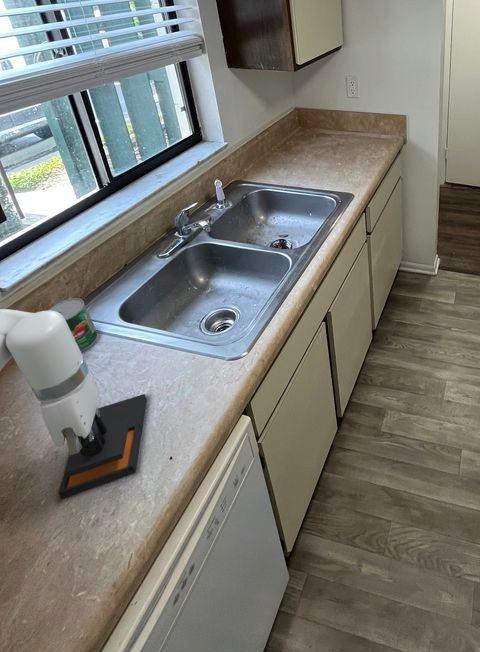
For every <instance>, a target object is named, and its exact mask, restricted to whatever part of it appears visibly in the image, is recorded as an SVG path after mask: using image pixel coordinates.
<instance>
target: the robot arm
mask: <svg viewBox="0 0 480 652" xmlns="http://www.w3.org/2000/svg"><path fill="white" fill-rule="evenodd" d="M82 353H83V352H81V351H80V349H79V347H78V345H77V343H76V341H75V339H74V337H73V335H72V333H71V331H70V328H69V326H68V324H67V322H66V320H65V319H64V317H63V315H61V314H60V313H59V312H56V311H51V310H49V309H48V310H42V311H36V312H28V311H22V310H16V309H8V308H0V372H1V371H2V370H3V369H4V367H5V366H6V365H7V364H8V363H9V361H10V360H11V359H12V358H13V360H14V361H15V363H16V365H17V367H18V368H19V370H20V372H21V374H22V375H23V377H24V380H25V381H26V382H27V384H28V385H29V387H30V389H31V390H32V392H33V394H34V396H35V398H36V400H37V401H39V402H40V404H39V406H40V411H41V415H42V419H43V421H44V424H45V427H46V429H47V431H48V433H49V435H50V437H51V440H52V442H53V443H54V445H55V446H56V447H57V448H60V447H63V446H64V445H65V442H66V445H67V452H68V456H69V455H73V454H76V453H79V452H81V454H82V456H87V455H91V454H93V453H96V452H99V451H101V450H103V445H102V443H101V441H100V439H99V437H98V435H97V434H94V433H93V431H92V429H91V427H92V423H93V420H95V422H96V424H97V425H98V427H99V429H100V431H101V433H102V435H104V434H105V433H106V432H107V428H106V426H105V424H104V422H103V420H102V418H101V417H100V411H99V409H98V408H99V407H98V404H99V400H100V388H99V385H98V383H97V382H96V380H95V377H94V376H93V374H92V373H91V371H90V368H89V366H88V364H87V362H86V360H85V357H84V356H83V354H82ZM98 417H100V418H98ZM79 436H82V437H80V438H79Z"/></svg>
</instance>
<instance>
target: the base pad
mask: <svg viewBox="0 0 480 652" xmlns="http://www.w3.org/2000/svg"><path fill="white" fill-rule="evenodd" d="M147 401H148V399H147V396H146V394H145V393H143V394H139V395H136V396H133V397H130V398H126V399H123V400H121V401H117V402H113V403H111V404H107V405H104V406H101V407H98V409H99V411H100V417H101V418H102V420H103V422H104V424H105V426H106V427H107V426H110V425H113V424H116V423H119V422H122V421H125V420H128V423H129V428H128V433H127V439H126V444H125V450H124V455H123V458H122V459H119V460H116V461H113V462H110V463H108V464H105V465H102V466H99V467H96V468H93V469H90V470H88V471H85V472H82V473H79V474H76V475H73V476H71V477H68V478H66V476H65V475H64V474H63V476H62V477H61V482H60V486H59V489H58V493H57V494H58V495H59V498H60V499H64V498H67V497H70V496H72V495H76V494H78V493H82V492H84V491H86V490H89V489H93V488H94V487H97V486H101V485H103V484H106V483H108V482H109V483H110V482H111V481H114V480H117V479H120V478H123V477H126V476H128V475H131V474H134V473H136V472H137V466H138V460H139V453H140V447H141V440H142V433H143V427H144V420H145V414H146V408H147ZM100 417H98V418H100Z"/></svg>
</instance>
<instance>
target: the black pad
mask: <svg viewBox="0 0 480 652" xmlns="http://www.w3.org/2000/svg"><path fill="white" fill-rule="evenodd" d="M106 428H107V432H106V433H105V434H104V435H102V433H101V431H100V429H99V427H98V425H97V424H96V422H95V420H93V423H92V427H91V429H92V431H93V433H94V434H97V435H98V437H99V439H100V441H101V443H102V445H103V450H101V451H99V452H96V453H93V454H91V455H87V456H82V454H81V452H79V453H76V454H73V455H69V454H68V457H67V461H66V465H65V468H64V470H63V475H65V476H66V478H68V477H71V476H73V475H76V474H79V473H82V472H85V471H88V470H90V469H93V468H96V467H99V466H102V465H105V464H108V463H110V462H113V461H116V460H119V459H122V458H123V455H124V450H125V444H126V439H127V433H128V428H129V423H128V420H125V421H122V422H119V423H116V424H113V425H110V426H107V427H106ZM80 437H82V436H79V438H80Z"/></svg>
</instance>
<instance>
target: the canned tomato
mask: <svg viewBox="0 0 480 652" xmlns="http://www.w3.org/2000/svg"><path fill="white" fill-rule="evenodd" d="M48 310H51V311H56V312H59V313H60V314H61V315H63V317H64V319H65V320H66V322H67V324H68V326H69V328H70V331H71V333H72V335H73V337H74V339H75V341H76V343H77V345H78V347H79V349H80V351H81V353H83V352H84V351H86V350H88V349H89V348H90V347H92V346H93V345H94V344H95V343H96V342H97V340H98V337H99V333H98V331H97V329H96V327H95V325H94V322H93V320H92V318H91V315H90V313H89V311H88V308H87V306H86V305H85V301H84V299H81V298H78V297H77V298H75V297H74V298H69V299H65V300H62V301H60V302H58V303H56V304H54V305H53V306H52V307H50V308H49V309H48Z"/></svg>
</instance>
